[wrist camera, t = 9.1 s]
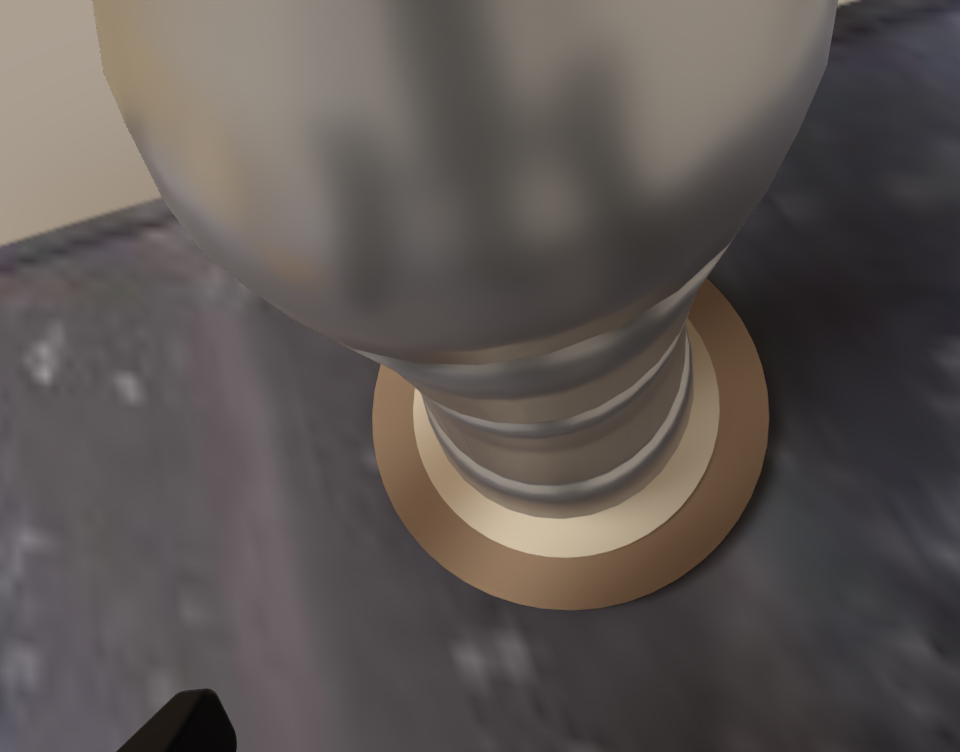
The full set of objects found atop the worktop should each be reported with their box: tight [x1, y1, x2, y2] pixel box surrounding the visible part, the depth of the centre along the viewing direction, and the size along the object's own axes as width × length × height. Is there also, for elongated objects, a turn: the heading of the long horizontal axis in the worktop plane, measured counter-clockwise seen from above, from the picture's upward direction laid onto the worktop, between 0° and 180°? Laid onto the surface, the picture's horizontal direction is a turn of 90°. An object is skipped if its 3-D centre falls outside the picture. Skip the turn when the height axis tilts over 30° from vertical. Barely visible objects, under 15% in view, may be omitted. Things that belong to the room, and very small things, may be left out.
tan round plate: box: [372, 278, 769, 610], centre depth 21 cm, size 11×11×2 cm
